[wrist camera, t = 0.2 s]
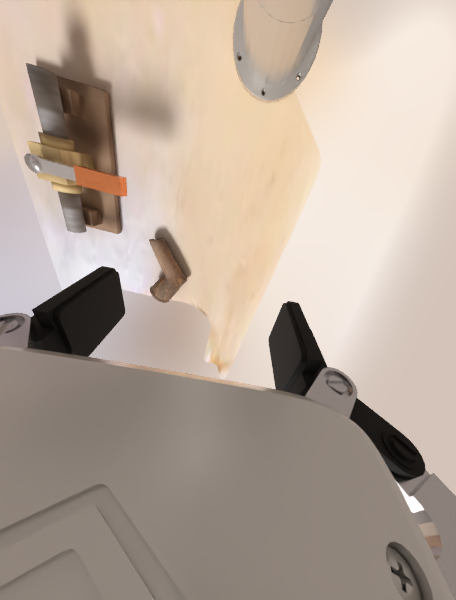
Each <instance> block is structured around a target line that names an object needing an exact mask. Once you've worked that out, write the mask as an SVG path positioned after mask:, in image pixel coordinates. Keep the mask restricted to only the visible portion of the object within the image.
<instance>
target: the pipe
mask: <svg viewBox="0 0 456 600" xmlns="http://www.w3.org/2000/svg"><path fill="white" fill-rule="evenodd" d="M149 241H150V244H151V246H152V249H153V251H154V253H155V255H156V258H157V260H158V262H159V264H160V266H161V268H162V270H163V272H164V274H165V277H163V278H161V279H160V280H158V281H157V282H156V283H155V284H154V285H153V286H152V287H151V288H150V292H151V294H152V296H153V297H154V298H155V299H156V300H158V301H160V302H163V303H166V302H168V301H169V300H170V299H171V298H172V297H173V296H174V295H175V293H176V292H177V291H178V290H179V288H180V287H181V286H182V285H183V284H184V283H185V282H186V281H187V278H186V277H185V276H184V275H183V273H182V271H181V269H180V267H179V266H178V264H177V262H176V260H175V259H174V257H173V255H172V253H171V251H170V249H169V247H168V245H167V244H166V242H165V240H164V239H163V238H162V239H159V240H158V239H157V240H154V239H150V240H149Z"/></svg>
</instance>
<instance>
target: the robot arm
mask: <svg viewBox="0 0 456 600" xmlns="http://www.w3.org/2000/svg"><path fill="white" fill-rule="evenodd" d="M332 1H333V0H241V1H240V4H239V7H238V9H237V14H236V18H235V23H234V33H233V51H234V60H235V65H236V69H237V72H238V75H239V78H240V80H241V82H242V84H243V85H244V87H245V89H246V90H247V91H248V92H249V93H250V94H251V95H252V96H254V97H255V98H256V99H259V100H261V101H264V102H274V101H279V100H281V99H283V98H285V97H287V96H288V95H290V94H291V93H292V92H293V91H294V90H295V89H296V88H297V87H298V86H299V85H300V84H301V82H302V81H303V80H304V78H305V77H306V75H307V73H308V72H309V70H310V68H311V66H312V64H313V61H314V59H315V57H316V53H317V50H318V47H319V43H320V38H321V33H322V21H323V19H324V17H325V15H326V13H327V11H328V9H329V7H330V5H331V3H332ZM239 57H241V61H239V60H238V58H239ZM297 77H299V80H297V79H296V78H297ZM262 92H264V93H265V95H264V96H263V95H262ZM32 311H33V313H34V316H33V317H31V318H30V316H28V315H27V314H23V313H11V314H5V315H1V316H0V600H456V496H455V495H454V494H453V493H452V492H451V491H450V490H449V489H448V488H447V487H446V486H445V485H444V484H443V482H441V480H440V479H439V478H438V477H437V476H436V475H435V474H434V473H433V474H431V475H430V474H429V473H428V472H427V471H426V470H425V463H424V461H423V459H422V456H421V455H420V453H419V451H418V450H417V448H416V447H415V446H414V445H413V444H412V443H411V441H410V440H409V439H408V438H406V437H405V436H404V435H403V434H402V433H401V432H399V431H398V430H397V429H396V428H394V427H393V426H392V425H390V424H389V423H388V422H387V421H385V420H384V419H383V418H382V417H380V416H379V415H378V414H377V413H375V412H374V411H373V410H371V409H370V408H369V407H368V406H366V405H365V404H364V403H363V402H361V401H360V400H359V399H357V389H356V386H355V385H354V383H353V382H352V381H351V379H350V378H349V377H348V376H347V375H345V374H344V373H343V372H341V371H339V370H337V369H335V368H330V367H327V365H326V363H325V361H324V358H323V356H322V354H321V351H320V349H319V347H318V345H317V342H316V340H315V338H314V336H313V333H312V331H311V329H310V328H309V326H308V323H307V321H306V319H305V317H304V314H303V312H302V310H301V307H300V305H299V304H298V303H295V302H290V301H288V302H287V303H284V304H283V305H282V308H281V310H280V312H279V315H278V317H277V320H276V322H275V324H274V327H273V329H272V331H271V334H270V336H269V347H270V354H271V360H272V367H273V373H274V380H275V386H276V390H275V389H270V388H265V387H260V386H255V385H249V384H244V383H238V382H232V381H226V380H221V379H215V378H209V377H204V376H198V375H192V374H186V373H180V372H174V371H168V370H163V369H157V368H151V367H145V366H139V365H133V364H127V363H121V362H115V361H109V360H103V359H97V358H91V357H88V356H89V355H90V354H91V353H92V352H93V351H94V350H95V348H96V347H97V346H98V345H99V344H100V343H101V341H102V340H103V339H104V338H105V337H106V336H107V334H108V333H109V332H110V331H111V330H112V329H113V328H114V326H115V325H116V324H117V323H118V322H119V321H120V319H121V318H122V317H123V316H124V314H125V307H124V301H123V295H122V289H121V284H120V278H119V273H118V272H116V270H115V269H114V268H109V267H103V266H102V267H100V268H98V269H96V270H95V271H93V272H92V273H90V274H88V275H87V276H85V277H84V278H82V279H80V280H79V281H77V282H76V283H74V284H72V285H71V286H69V287H68V288H66V289H64V290H63V291H61V292H60V293H58V294H56V295H55V296H53V297H52V298H50V299H48V300H47V301H45V302H44V303H42V304H40V305H39V306H37V307H36V308H34V309H33V310H32Z"/></svg>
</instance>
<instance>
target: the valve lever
mask: <svg viewBox="0 0 456 600" xmlns="http://www.w3.org/2000/svg"><path fill="white" fill-rule="evenodd" d="M25 162H26V164H27V166H28V167H29V168H30V169H31V170H32V171H33V172H35V173H47V174H51V175H54V176H58V177H62V178H66V179H69V180H73V181H76V182H77V185H80V186H84V187H87V188H91V189H95V190H99V191H102V192H106V193H110V194H114V195H117V196H121V197H122V196H127V186H126V178H125V177H121V176H118V175H114V174H110V173H107V172H103V171H99V170H96V169H92V168H88V167H85V166H79V165H73V166H70V165H66V164H62V163H59V162H55V161H51V160H48V159H44V158H43V157H41V156H40V155H37V154H26V155H25Z"/></svg>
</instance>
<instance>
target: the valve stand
mask: <svg viewBox="0 0 456 600" xmlns="http://www.w3.org/2000/svg"><path fill="white" fill-rule="evenodd" d="M26 66H27V70H28V74H29V78H30V82H31V86H32V90H33V94H34V98H35V102H36V106H37V110H38V114H39V118H40V122H41V126H42V130H43V133H41V132H38V133H39V137H40V141H41V143H37V142H31V141H28V145H29V148H30V152H31V154H37V155H40V156H41V157H43V158H44V159H48V160H51V161H55V162H59V163H62V164H66V165H70V166H73V165H79V166H85V167H88V168H92V169H96V170H99V171H103V172H107V173H110V174H114V175H116V167H115V156H114V145H113V134H112V123H111V112H110V101H109V93H107V92H105V91H104V90H101V89H98V88H95V87H91V86H88V85H85V84H81V83H78V82H75V81H72V80H68V79H65V78H62V77H58V76H56V75H55V74H53V73H51V72H49V71H47V70H45V69H43V68H40V67H37V66H35V65H32V64H28V63H26ZM37 176H38V178H41V179H44V180H48V181H51V183H52V187H53V189H54V190H56V191H58V194H59V198H60V202H61V206H62V210H63V214H64V218H65V222H66V226H67V230H68V231H70V232H75V233H82V232H86V226H88V227H92V228H96V229H100V230H104V231H108V232H112V233H116V234H119V233H121V223H120V212H119V201H118V196H117V195H114V194H110V193H106V192H102V191H99V190H95V189H91V188H87V187H84V186H80V185H77V182H76V181H73V180H69V179H66V178H62V177H58V176H54V175H51V174H47V173H37Z"/></svg>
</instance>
